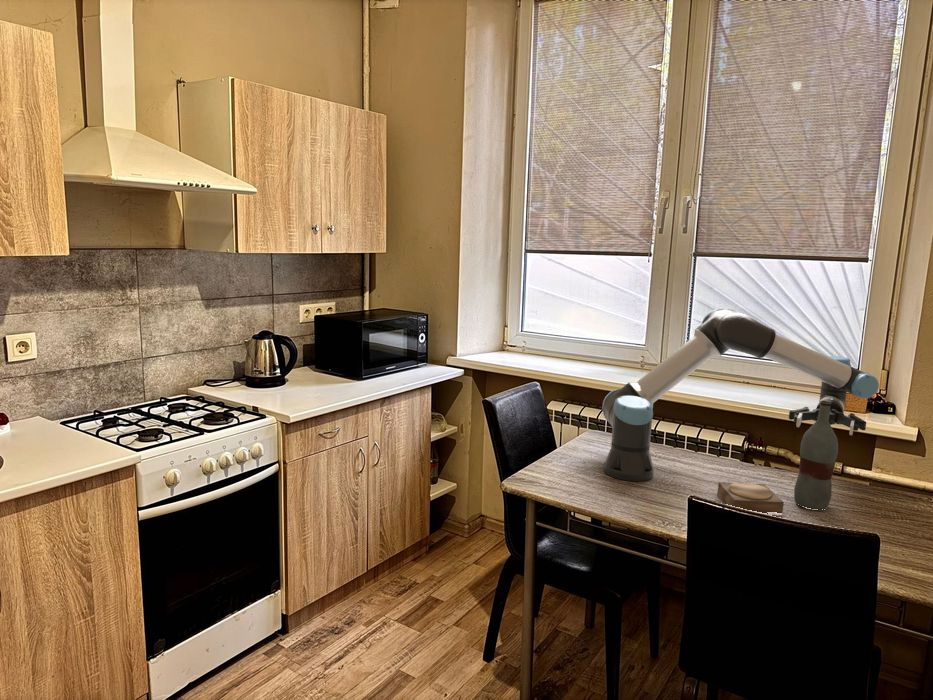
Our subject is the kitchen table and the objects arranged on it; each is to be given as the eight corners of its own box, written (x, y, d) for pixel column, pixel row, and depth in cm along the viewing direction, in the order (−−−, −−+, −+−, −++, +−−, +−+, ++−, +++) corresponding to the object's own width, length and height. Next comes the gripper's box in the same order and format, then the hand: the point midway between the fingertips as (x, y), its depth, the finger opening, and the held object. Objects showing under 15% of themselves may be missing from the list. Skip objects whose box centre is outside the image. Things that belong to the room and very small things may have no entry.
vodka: (804, 511, 181) (819, 405, 175) (785, 498, 190) (799, 397, 184) (836, 512, 182) (853, 406, 176) (816, 498, 191) (831, 398, 185)
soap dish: (717, 495, 191) (718, 480, 190) (762, 497, 190) (764, 482, 190) (733, 514, 178) (735, 497, 177) (782, 516, 178) (784, 500, 177)
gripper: (874, 428, 202) (873, 446, 184) (785, 415, 215) (775, 431, 197) (877, 405, 201) (876, 420, 183) (787, 393, 214) (778, 407, 196)
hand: (824, 426), depth 190 cm, fingers open, 13 cm apart
